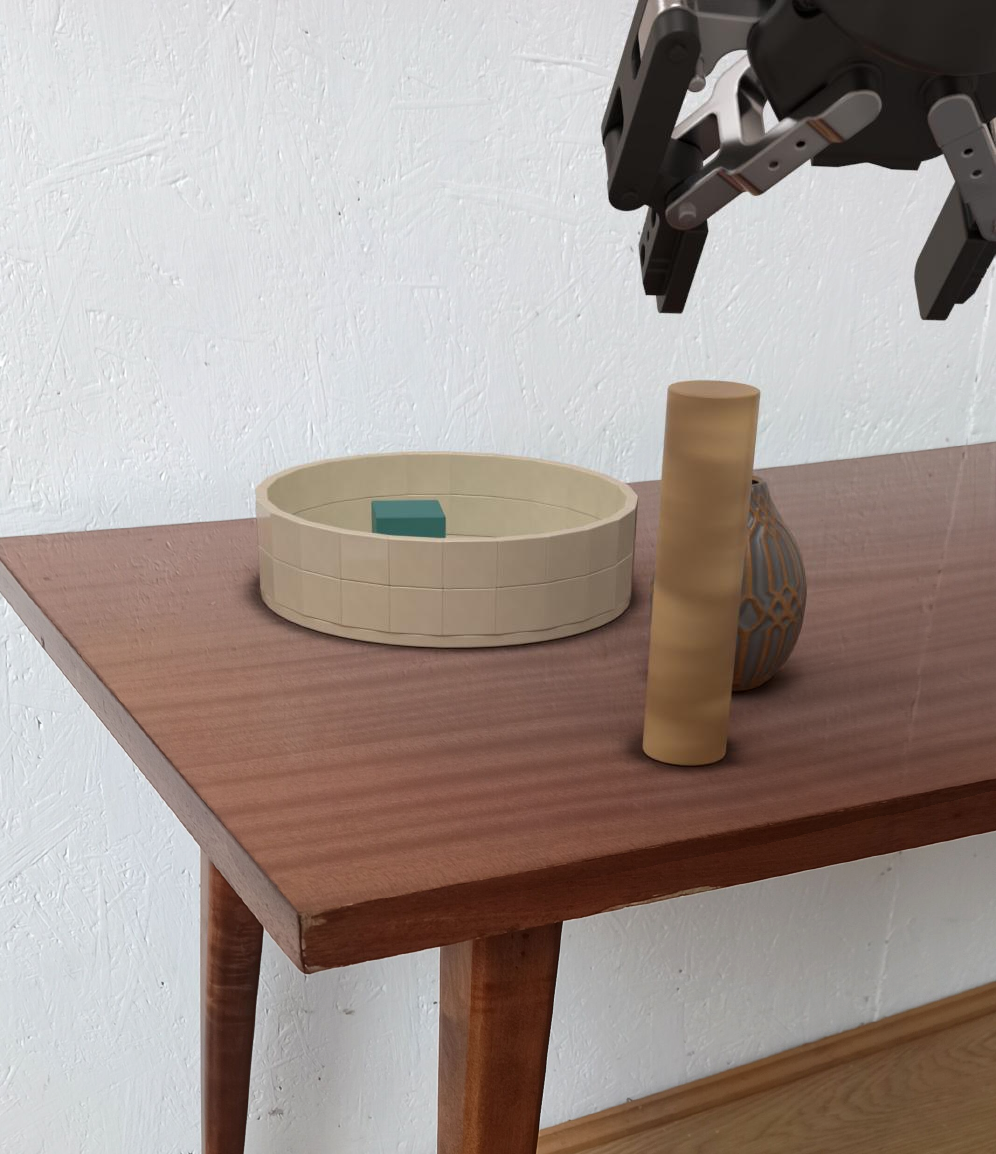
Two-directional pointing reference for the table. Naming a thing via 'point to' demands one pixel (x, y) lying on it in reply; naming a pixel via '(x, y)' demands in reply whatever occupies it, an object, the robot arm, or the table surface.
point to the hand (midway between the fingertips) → (797, 294)
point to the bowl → (447, 549)
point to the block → (408, 518)
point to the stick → (699, 568)
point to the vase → (766, 593)
